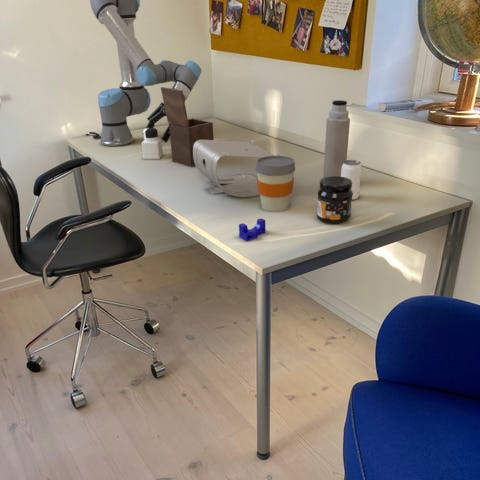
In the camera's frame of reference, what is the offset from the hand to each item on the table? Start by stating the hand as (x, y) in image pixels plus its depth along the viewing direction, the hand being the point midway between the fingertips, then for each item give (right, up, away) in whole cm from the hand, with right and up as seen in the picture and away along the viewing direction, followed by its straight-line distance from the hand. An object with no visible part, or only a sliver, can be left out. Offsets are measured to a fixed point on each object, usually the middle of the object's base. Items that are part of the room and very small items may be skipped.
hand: (154, 138), depth 224 cm
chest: (+17, -11, -3) cm, 20 cm away
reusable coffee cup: (+49, -41, -52) cm, 82 cm away
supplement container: (+66, -47, -62) cm, 102 cm away
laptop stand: (+36, -30, -34) cm, 58 cm away
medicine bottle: (-1, -7, +4) cm, 8 cm away
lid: (+12, +6, -19) cm, 23 cm away
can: (+74, -37, -46) cm, 95 cm away
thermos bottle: (+72, -28, -32) cm, 83 cm away
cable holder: (+41, -54, -72) cm, 99 cm away
